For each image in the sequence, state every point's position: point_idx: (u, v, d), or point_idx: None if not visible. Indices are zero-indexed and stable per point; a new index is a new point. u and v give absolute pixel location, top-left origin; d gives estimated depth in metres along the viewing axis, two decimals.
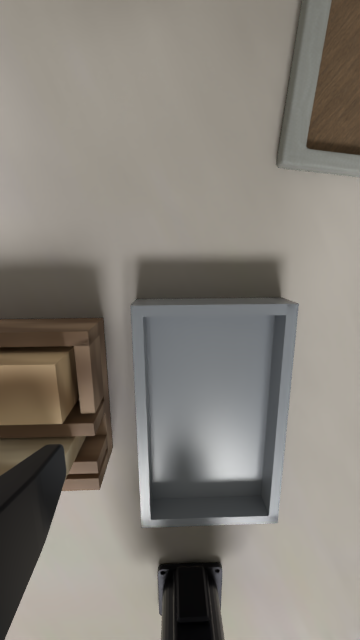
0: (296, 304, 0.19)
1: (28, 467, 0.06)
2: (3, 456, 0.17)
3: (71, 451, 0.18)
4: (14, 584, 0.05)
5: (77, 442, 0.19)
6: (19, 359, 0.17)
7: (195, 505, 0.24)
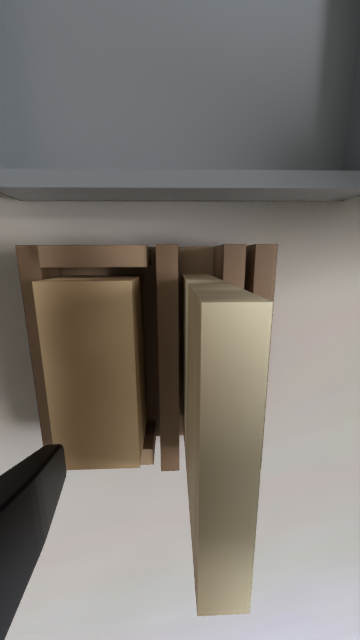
0: None
1: (28, 467, 0.06)
2: (186, 371, 0.12)
3: (195, 279, 0.12)
4: (14, 584, 0.05)
5: (197, 277, 0.13)
6: None
7: None
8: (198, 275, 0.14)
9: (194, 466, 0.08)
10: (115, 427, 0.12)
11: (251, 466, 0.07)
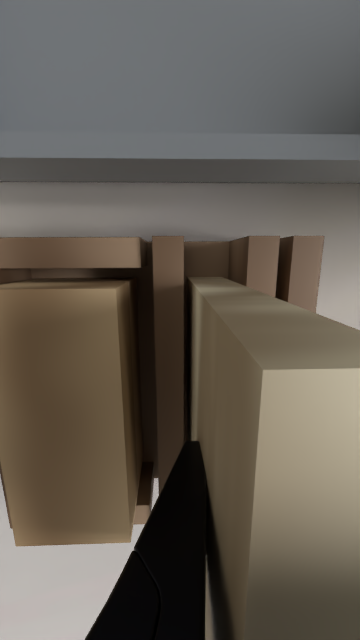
0: None
1: (191, 463, 0.06)
2: (195, 415, 0.08)
3: (208, 285, 0.08)
4: None
5: (210, 281, 0.09)
6: None
7: None
8: (210, 279, 0.11)
9: (216, 624, 0.04)
10: (95, 491, 0.09)
11: None
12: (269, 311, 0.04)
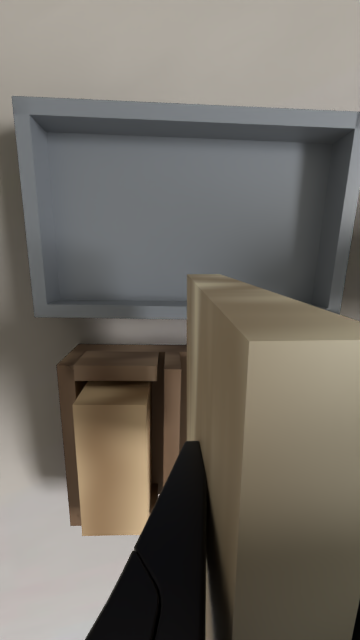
0: (13, 99, 0.14)
1: (191, 463, 0.06)
2: (194, 406, 0.09)
3: (206, 281, 0.09)
4: None
5: (208, 278, 0.10)
6: None
7: (326, 246, 0.17)
8: (208, 276, 0.11)
9: (213, 592, 0.05)
10: (129, 505, 0.16)
11: None
12: (261, 301, 0.05)
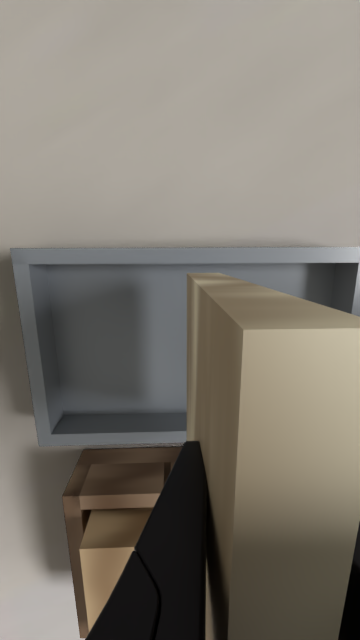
0: (11, 251, 0.14)
1: (191, 463, 0.06)
2: (193, 402, 0.09)
3: (206, 279, 0.09)
4: None
5: (208, 276, 0.10)
6: None
7: None
8: (208, 274, 0.11)
9: (211, 577, 0.05)
10: None
11: (323, 623, 0.04)
12: (258, 296, 0.05)
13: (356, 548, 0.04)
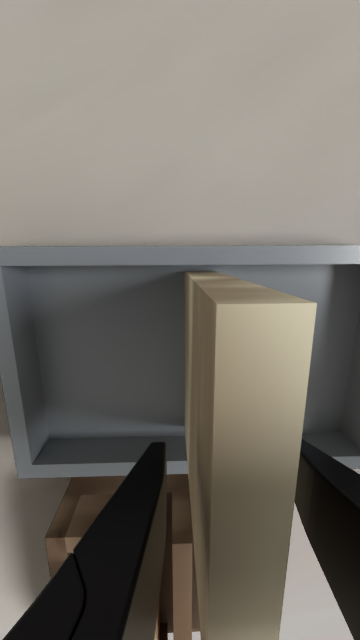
0: None
1: (151, 464, 0.06)
2: (189, 382, 0.10)
3: (200, 275, 0.10)
4: (158, 578, 0.05)
5: (202, 273, 0.11)
6: None
7: (359, 378, 0.14)
8: None
9: (201, 508, 0.06)
10: None
11: (279, 521, 0.05)
12: (237, 287, 0.06)
13: None
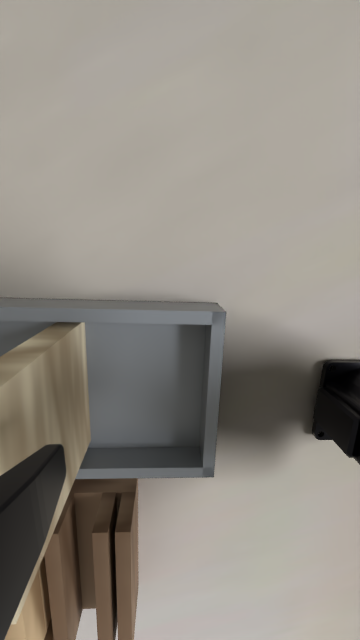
0: None
1: (28, 467, 0.06)
2: None
3: (43, 335, 0.14)
4: (14, 584, 0.05)
5: (56, 329, 0.15)
6: None
7: (203, 406, 0.18)
8: (67, 324, 0.16)
9: None
10: None
11: None
12: (3, 369, 0.10)
13: None
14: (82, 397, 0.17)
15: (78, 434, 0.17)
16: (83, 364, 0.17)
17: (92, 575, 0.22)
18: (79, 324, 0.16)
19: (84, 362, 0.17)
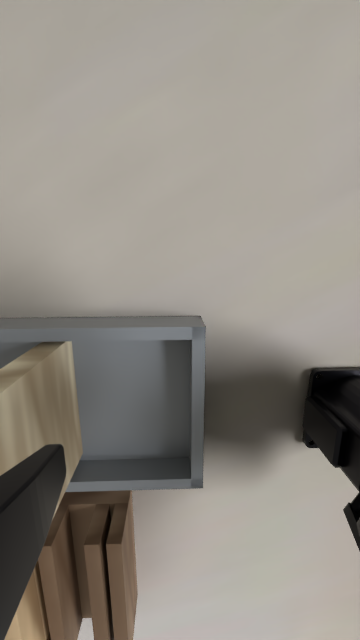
0: None
1: (28, 467, 0.06)
2: None
3: (26, 357, 0.14)
4: (14, 584, 0.05)
5: (41, 349, 0.16)
6: None
7: (190, 418, 0.19)
8: (52, 343, 0.17)
9: None
10: None
11: None
12: None
13: None
14: (71, 412, 0.18)
15: (68, 449, 0.17)
16: (71, 380, 0.18)
17: None
18: (65, 342, 0.17)
19: (72, 378, 0.18)
